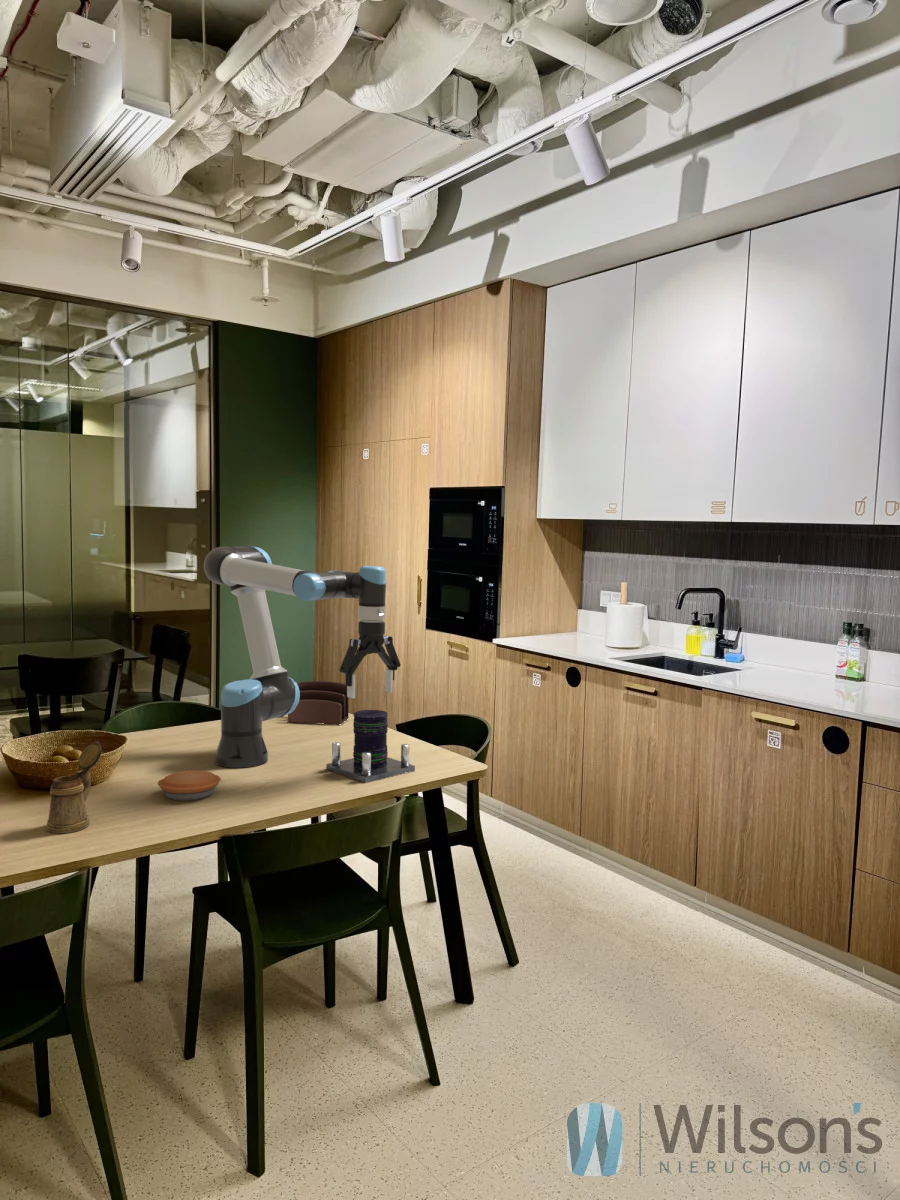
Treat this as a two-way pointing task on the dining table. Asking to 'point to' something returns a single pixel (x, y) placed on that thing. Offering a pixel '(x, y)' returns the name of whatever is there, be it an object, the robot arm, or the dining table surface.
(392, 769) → the post base
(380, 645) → the robot arm
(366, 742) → the storage jar
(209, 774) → the pie
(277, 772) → the dining table surface
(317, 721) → the letter holder
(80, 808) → the wooden mug
